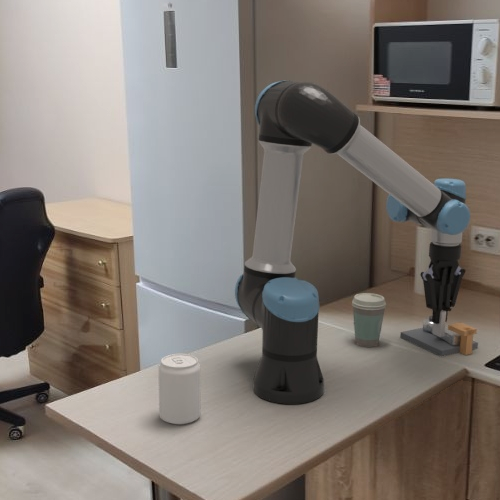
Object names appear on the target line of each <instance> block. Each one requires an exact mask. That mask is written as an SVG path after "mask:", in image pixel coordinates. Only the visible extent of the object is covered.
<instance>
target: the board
mask: <svg viewBox="0 0 500 500" xmlns="http://www.w3.org/2000/svg"><path fill="white" fill-rule="evenodd" d="M399 337H400V338H401V339H403V340H405V341H407V342H409V343H411V344H413V345H415V346H417V347H420V348H422V349H424V350H426V351H428V352H430V353H433V354H435V355H437V356H439V357H446V356H451V355H453V354H458V353H460V344H459V345H452V344H450V343H448V342H447V341H445V340H443V339H441V338H440V337H438V336H436V335H434V334H433V333H431V332H426V331H424V330H423V327H417V328H414V329H409V330H405V331H401V332H400V335H399ZM478 345H479V342H478V341H476V340H473V344H472V350H477V349H478V347H479V346H478Z"/></svg>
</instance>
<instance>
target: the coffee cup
mask: <svg viewBox="0 0 500 500" xmlns="http://www.w3.org/2000/svg"><path fill="white" fill-rule="evenodd" d="M351 302H352V303H351V306H352V311H353V312H352V315H353V327H354V328H353V329H354V340H355V344H356V345H357V346H361V347H367V348H370V347H371V348H373V347H376V346H379V342H380V337H381V333H382V326H383V322H384V321H383V320H384V316H385V314H384V313H385V308H387V303H386V300H385V297H384V296H383V295H381V294H377V293H372V292H365V293H357V294H355V295H354V296H353V299H352V300H351Z"/></svg>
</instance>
